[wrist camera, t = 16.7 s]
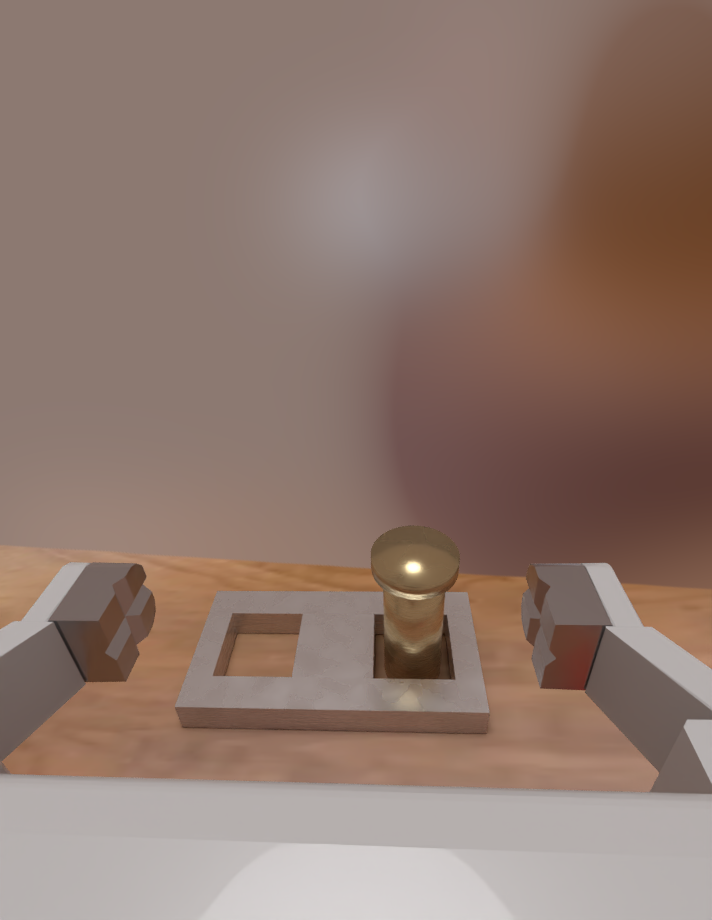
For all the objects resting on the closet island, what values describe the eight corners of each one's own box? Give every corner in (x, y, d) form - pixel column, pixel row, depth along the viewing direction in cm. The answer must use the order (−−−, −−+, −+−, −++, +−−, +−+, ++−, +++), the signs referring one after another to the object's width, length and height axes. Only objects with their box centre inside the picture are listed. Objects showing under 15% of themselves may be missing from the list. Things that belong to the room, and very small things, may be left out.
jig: (182, 727, 38) (174, 706, 36) (222, 610, 47) (217, 591, 46) (486, 733, 36) (489, 712, 35) (465, 612, 46) (467, 592, 44)
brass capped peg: (373, 699, 39) (369, 586, 33) (375, 634, 44) (371, 525, 38) (453, 701, 38) (465, 586, 32) (446, 635, 44) (454, 525, 37)
